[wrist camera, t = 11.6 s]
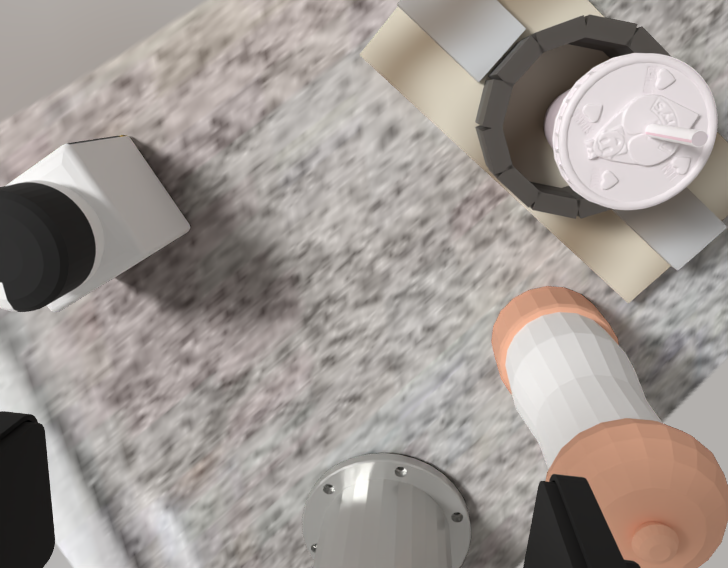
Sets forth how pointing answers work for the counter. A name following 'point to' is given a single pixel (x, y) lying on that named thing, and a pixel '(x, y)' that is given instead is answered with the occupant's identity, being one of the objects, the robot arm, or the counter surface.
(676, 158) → the smoothie
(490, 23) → the socket rail
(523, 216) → the counter surface
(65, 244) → the medicine bottle
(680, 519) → the pepper shaker
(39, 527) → the robot arm
